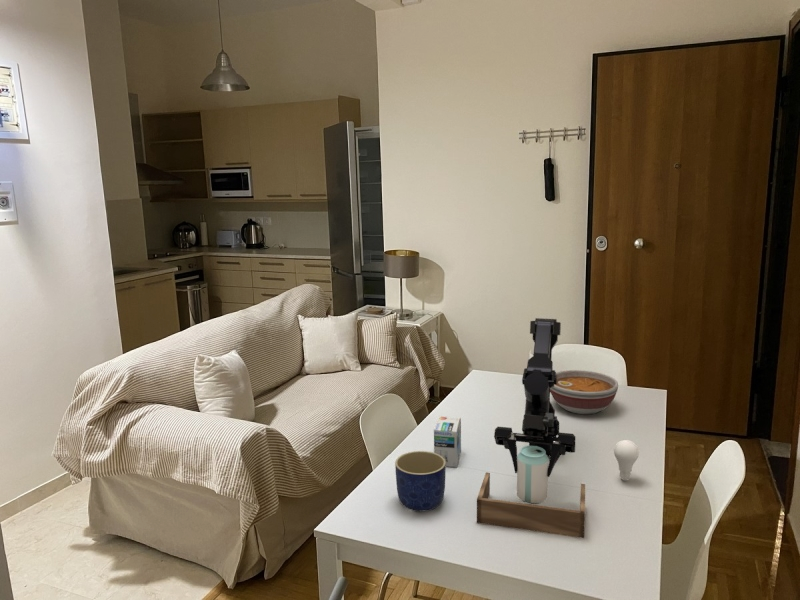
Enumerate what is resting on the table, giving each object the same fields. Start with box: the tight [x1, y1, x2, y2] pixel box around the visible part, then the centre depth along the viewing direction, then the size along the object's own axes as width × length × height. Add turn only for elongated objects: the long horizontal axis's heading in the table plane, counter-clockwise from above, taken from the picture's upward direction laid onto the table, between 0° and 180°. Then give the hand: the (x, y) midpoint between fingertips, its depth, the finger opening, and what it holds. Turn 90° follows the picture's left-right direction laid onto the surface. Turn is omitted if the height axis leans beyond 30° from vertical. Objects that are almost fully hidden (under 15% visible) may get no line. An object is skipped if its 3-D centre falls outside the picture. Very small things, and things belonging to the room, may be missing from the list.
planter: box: [394, 450, 447, 512], centre depth 152 cm, size 12×12×11 cm
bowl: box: [550, 369, 619, 415], centre depth 209 cm, size 23×23×10 cm
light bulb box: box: [433, 415, 462, 468], centre depth 175 cm, size 11×7×11 cm, turn 168°
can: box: [516, 445, 549, 505], centre depth 144 cm, size 7×7×12 cm
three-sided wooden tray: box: [476, 471, 586, 539], centre depth 146 cm, size 14×24×6 cm, turn 73°
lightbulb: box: [613, 439, 640, 481], centre depth 160 cm, size 6×6×11 cm
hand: (532, 474), depth 142 cm, fingers closed on can, 7 cm apart
